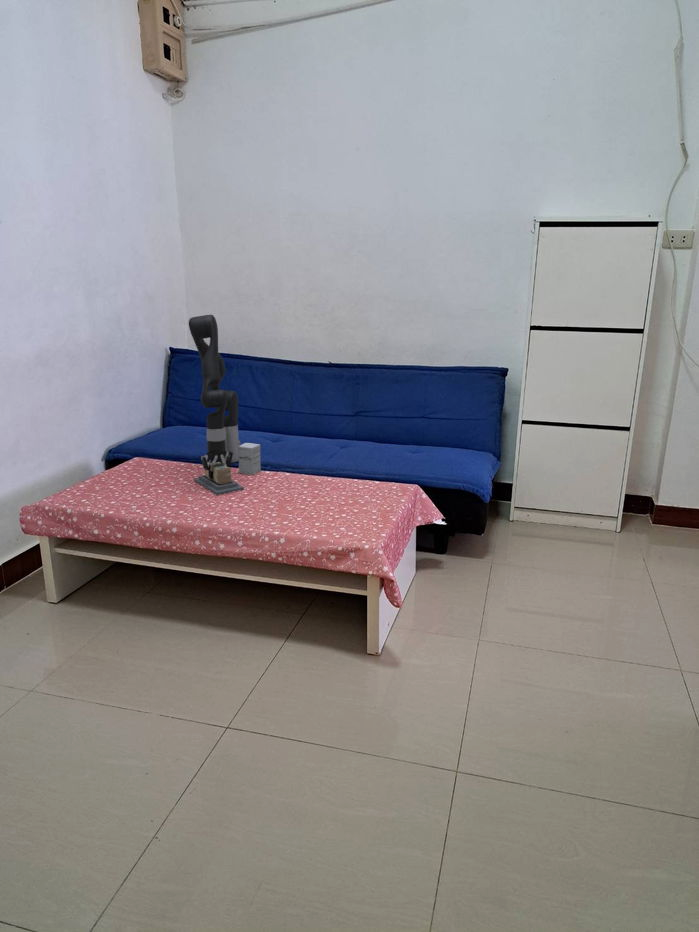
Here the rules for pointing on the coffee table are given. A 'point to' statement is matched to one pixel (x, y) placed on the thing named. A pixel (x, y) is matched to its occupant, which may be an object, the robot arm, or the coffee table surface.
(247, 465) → the supplement box
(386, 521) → the coffee table surface
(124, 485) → the coffee table surface
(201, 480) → the grey rectangular framed panel
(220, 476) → the oak frame
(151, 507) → the coffee table surface
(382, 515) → the coffee table surface
